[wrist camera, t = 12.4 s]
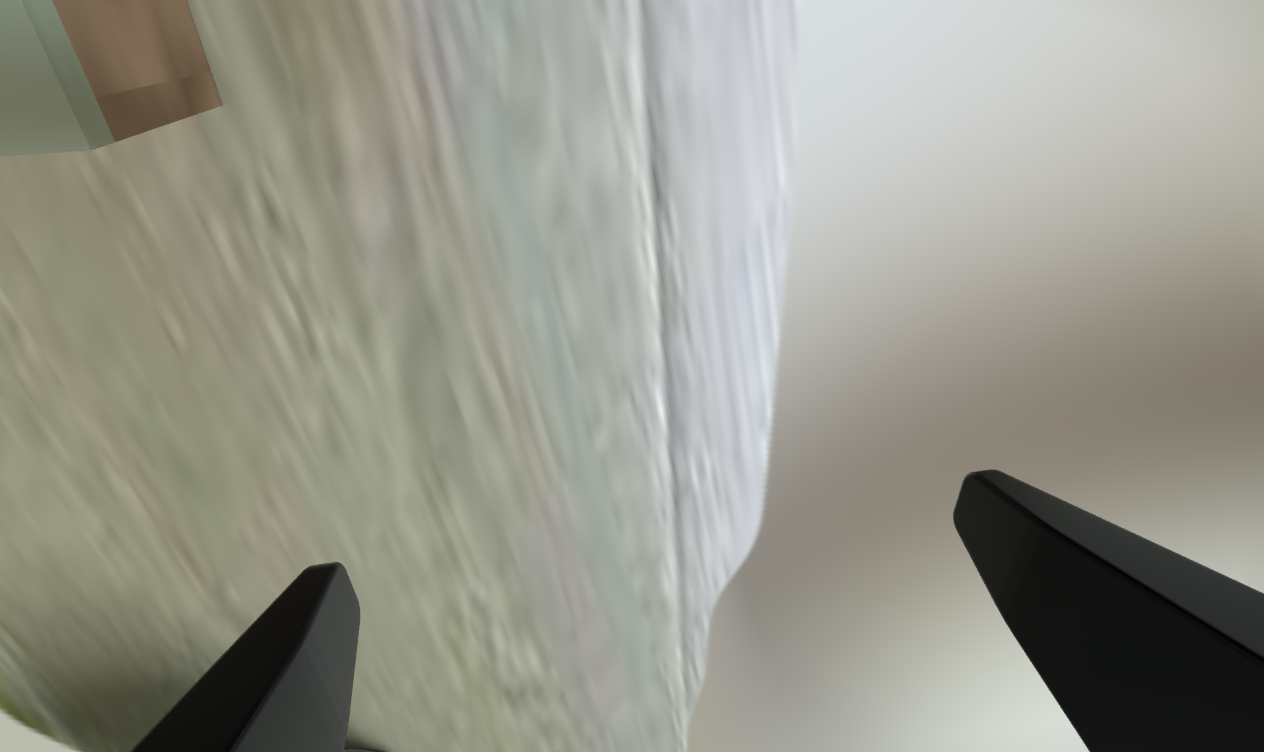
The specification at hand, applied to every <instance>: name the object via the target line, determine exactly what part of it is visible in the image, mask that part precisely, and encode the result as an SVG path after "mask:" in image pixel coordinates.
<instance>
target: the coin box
mask: <svg viewBox="0 0 1264 752" xmlns="http://www.w3.org/2000/svg"><path fill="white" fill-rule="evenodd" d="M222 105H223V104H222V102H221V99H220V96H219V93H218V90H217V87H216V84H215V82H214V79H213V76H212V73H211V70H210V67H209V64H208V62H207V59H206V56H205V53H204V50H203V47H202V44H201V42H200V39H199V36H198V33H197V30H196V27H195V24H194V22H193V19H192V16H191V13H190V10H189V7H188V4H187V2H186V0H0V156H11V155H27V154H42V153H57V152H73V151H88V150H94V149H96V148H99V147H102V146H105V145H108V144H111V143H114V142H117V141H120V140H123V139H126V138H129V137H131V136H134V135H137V134H140V133H143V132H146V131H149V130H152V129H155V128H158V127H161V126H164V125H166V124H169V123H172V122H175V121H178V120H181V119H184V118H187V117H190V116H193V115H196V114H199V113H201V112H204V111H207V110H210V109H213V108H216V107H219V106H222Z"/></svg>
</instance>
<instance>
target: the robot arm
mask: <svg viewBox="0 0 1264 752" xmlns="http://www.w3.org/2000/svg"><path fill="white" fill-rule="evenodd" d="M953 519H954V524H955V528H956V530H957V532H958V534H959V536H960V538H961V540H962V541H963V543H964V545H965V547H966V549H967V551H968V553H969V555H970V557H971V559H972V560H973V562H974V564H975V566H976V568H977V570H978V572H979V574H980V576H981V578H982V580H983V582H984V584H985V585H986V587H987V589H988V591H989V593H990V595H991V597H992V599H993V601H994V603H995V605H996V606H997V608H998V610H999V612H1000V613H1001V615H1002V617H1003V619H1004V621H1005V622H1006V624H1007V625H1008V627H1009V628H1010V630H1011V632H1012V633H1013V635H1014V636H1015V638H1016V639H1017V641H1018V643H1019V644H1020V646H1021V647H1022V649H1023V650H1024V652H1025V653H1026V655H1027V656H1028V658H1029V659H1030V661H1031V662H1032V664H1033V665H1034V667H1035V669H1036V670H1037V672H1038V673H1039V675H1040V676H1041V678H1042V679H1043V681H1044V682H1045V684H1046V685H1047V687H1048V689H1049V690H1050V691H1051V693H1052V695H1053V696H1054V698H1055V699H1056V701H1057V702H1058V704H1059V705H1060V707H1061V709H1062V710H1063V712H1064V713H1065V714H1066V716H1067V718H1068V719H1069V721H1070V722H1071V724H1072V725H1073V727H1074V728H1075V730H1076V731H1077V733H1078V734H1079V736H1080V738H1081V739H1082V740H1083V742H1084V744H1085V745H1086V747H1087V748H1088V750H1089V751H1090V752H1264V593H1262V592H1259V591H1257V590H1255V589H1253V588H1251V587H1249V586H1246V585H1244V584H1242V583H1240V582H1238V581H1236V580H1234V579H1231V578H1229V577H1227V576H1225V575H1223V574H1221V573H1218V572H1216V571H1214V570H1212V569H1210V568H1208V567H1206V566H1203V565H1201V564H1199V563H1197V562H1195V561H1193V560H1190V559H1188V558H1186V557H1184V556H1181V555H1180V554H1178V553H1175V552H1173V551H1171V550H1169V549H1167V548H1164V547H1162V546H1160V545H1158V544H1156V543H1154V542H1151V541H1149V540H1147V539H1145V538H1143V537H1141V536H1139V535H1136V534H1134V533H1132V532H1130V531H1128V530H1126V529H1124V528H1121V527H1119V526H1117V525H1115V524H1113V523H1111V522H1108V521H1106V520H1104V519H1102V518H1100V517H1098V516H1096V515H1093V514H1091V513H1089V512H1087V511H1085V510H1083V509H1081V508H1078V507H1076V506H1074V505H1072V504H1070V503H1068V502H1065V501H1063V500H1061V499H1059V498H1057V497H1055V496H1053V495H1050V494H1048V493H1046V492H1044V491H1042V490H1040V489H1037V488H1035V487H1033V486H1031V485H1029V484H1026V483H1024V482H1022V481H1020V480H1018V479H1016V478H1014V477H1011V476H1009V475H1007V474H1005V473H1003V472H1001V471H998V470H984V471H977V472H971V473H969V474H967V475H966V477H965V478H964V480H963V483H962V486H961V489H960V492H959V496H958V499H957V502H956V505H955V508H954V512H953ZM359 625H360V606H359V602H358V599H357V596H356V594H355V591H354V589H353V586H352V584H351V581H350V579H349V576H348V574H347V571H346V569H345V567H344V566H343V565H342V564H341V563H339V562H333V563H325V564H318V565H312V566H309V567H308V568H306V569H305V570H304V571H303V572H302V573H301V574H300V575H299V576H298V577H297V578H296V579H295V580H294V581H293V582H292V583H291V584H290V585H289V586H288V587H287V588H286V589H285V590H284V591H283V592H282V593H281V595H280V596H279V597H278V598H277V599H276V600H275V601H274V602H273V603H272V604H271V605H270V606H269V607H268V608H267V609H266V610H265V611H264V612H263V613H262V614H261V615H260V616H259V617H258V619H257V620H256V621H255V622H254V623H253V624H252V625H251V626H250V627H249V628H248V629H247V630H246V631H245V632H244V633H243V634H242V635H241V636H240V637H239V638H238V639H237V640H236V641H235V643H234V644H233V645H232V646H231V647H230V648H229V649H228V650H227V651H226V652H225V653H224V654H223V655H222V656H221V657H220V658H219V659H218V660H217V661H216V662H215V663H214V664H213V665H212V667H211V668H210V669H209V670H208V671H207V672H206V673H205V674H204V675H203V676H202V677H201V678H200V679H199V680H198V681H197V682H196V683H195V684H194V685H193V686H192V687H191V688H190V690H189V691H188V692H187V693H186V694H185V695H184V696H183V697H182V698H181V699H180V700H179V701H178V702H177V703H176V704H175V705H174V706H173V707H172V708H171V709H170V710H169V711H168V712H167V714H166V715H165V716H164V717H163V718H162V719H161V720H160V721H159V722H158V723H157V724H156V725H155V726H154V727H153V728H152V729H151V730H150V731H149V732H148V733H147V734H146V735H145V736H144V738H143V739H142V740H141V741H140V742H139V743H138V744H137V745H136V746H135V747H134V748H133V749H132V750H131V751H130V752H343V751H344V746H345V741H346V736H347V730H348V722H349V715H350V706H351V697H352V688H353V679H354V670H355V661H356V652H357V643H358V634H359Z"/></svg>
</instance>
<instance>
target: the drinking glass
mask: <svg viewBox="0 0 1264 752" xmlns="http://www.w3.org/2000/svg"><path fill="white" fill-rule="evenodd" d="M343 752H375V751H369V750H357V749H344V751H343Z"/></svg>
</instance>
